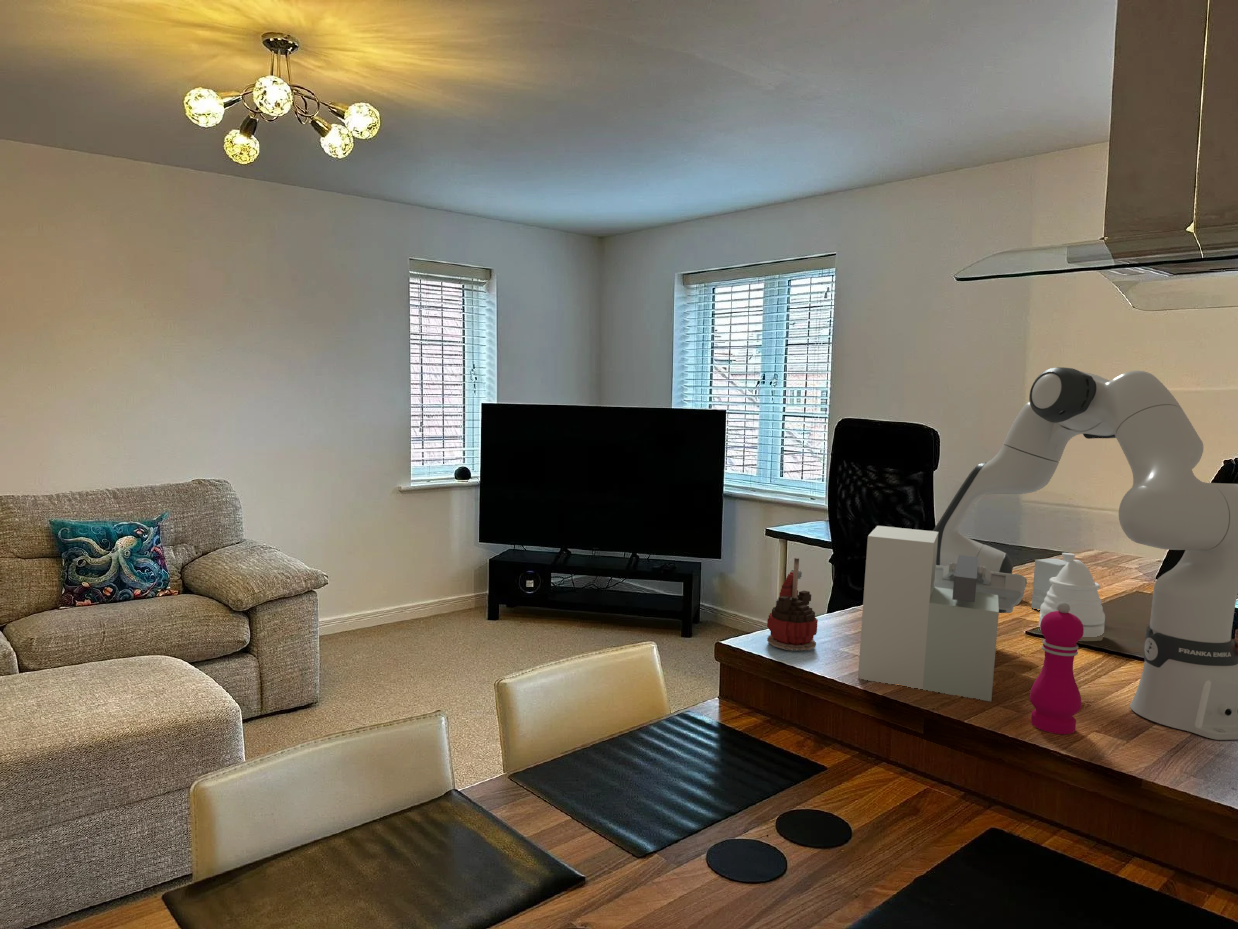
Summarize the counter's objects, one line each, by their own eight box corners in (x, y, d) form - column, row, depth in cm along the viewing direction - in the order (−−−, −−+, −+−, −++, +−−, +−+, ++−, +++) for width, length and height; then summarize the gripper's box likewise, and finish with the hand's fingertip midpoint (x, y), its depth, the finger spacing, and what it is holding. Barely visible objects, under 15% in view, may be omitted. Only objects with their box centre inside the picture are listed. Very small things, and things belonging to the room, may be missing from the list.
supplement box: (1077, 614, 207) (1082, 563, 206) (1054, 616, 204) (1059, 565, 203) (1051, 607, 214) (1056, 557, 213) (1029, 608, 211) (1034, 558, 210)
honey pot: (1054, 640, 183) (1062, 558, 182) (1028, 624, 196) (1034, 547, 194) (1115, 643, 183) (1123, 561, 181) (1084, 627, 196) (1091, 550, 194)
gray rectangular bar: (957, 575, 163) (958, 555, 163) (976, 577, 162) (978, 557, 161) (952, 599, 143) (954, 576, 143) (974, 602, 142) (976, 578, 141)
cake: (796, 657, 163) (802, 565, 162) (756, 645, 170) (761, 557, 168) (825, 647, 171) (831, 559, 169) (786, 636, 177) (791, 551, 176)
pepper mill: (1085, 738, 129) (1097, 610, 127) (1034, 733, 131) (1045, 605, 129) (1070, 721, 136) (1081, 598, 134) (1022, 715, 138) (1032, 594, 136)
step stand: (868, 657, 165) (877, 525, 163) (991, 677, 156) (1002, 538, 154) (857, 678, 152) (867, 535, 150) (991, 701, 143) (1004, 550, 141)
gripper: (913, 570, 175) (910, 546, 163) (1022, 583, 167) (1028, 559, 155) (909, 599, 172) (907, 577, 161) (1020, 614, 164) (1026, 591, 153)
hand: (967, 568), depth 158 cm, fingers closed on gray rectangular bar, 3 cm apart
